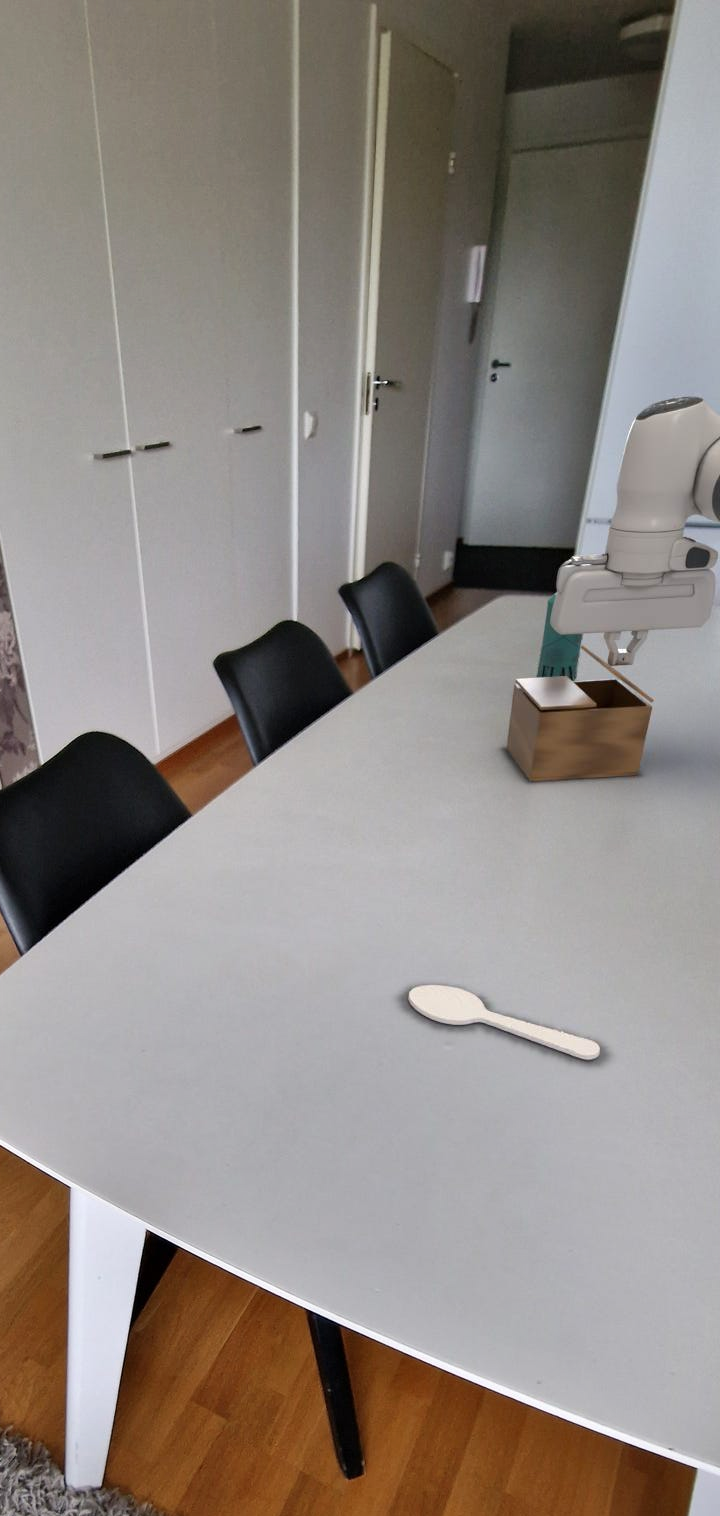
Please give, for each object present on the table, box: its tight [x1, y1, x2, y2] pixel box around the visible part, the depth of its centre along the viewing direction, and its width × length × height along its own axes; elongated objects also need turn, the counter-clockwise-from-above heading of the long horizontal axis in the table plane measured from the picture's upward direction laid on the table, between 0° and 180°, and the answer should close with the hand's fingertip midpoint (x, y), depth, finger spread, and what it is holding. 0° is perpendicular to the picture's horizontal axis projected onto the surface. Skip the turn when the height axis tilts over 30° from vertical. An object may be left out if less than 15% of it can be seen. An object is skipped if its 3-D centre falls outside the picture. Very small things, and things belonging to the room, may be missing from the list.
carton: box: [505, 676, 653, 782], centre depth 131 cm, size 15×13×10 cm
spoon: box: [408, 983, 601, 1061], centre depth 84 cm, size 5×18×1 cm, turn 54°
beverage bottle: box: [535, 592, 585, 681], centre depth 150 cm, size 6×7×20 cm
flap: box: [580, 644, 655, 703], centre depth 126 cm, size 7×13×1 cm
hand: (619, 664), depth 126 cm, fingers closed
